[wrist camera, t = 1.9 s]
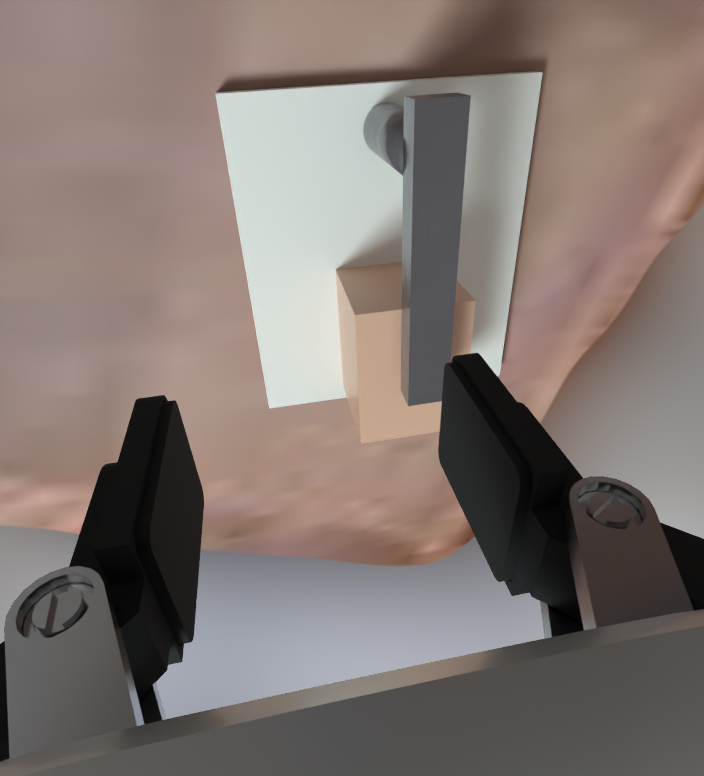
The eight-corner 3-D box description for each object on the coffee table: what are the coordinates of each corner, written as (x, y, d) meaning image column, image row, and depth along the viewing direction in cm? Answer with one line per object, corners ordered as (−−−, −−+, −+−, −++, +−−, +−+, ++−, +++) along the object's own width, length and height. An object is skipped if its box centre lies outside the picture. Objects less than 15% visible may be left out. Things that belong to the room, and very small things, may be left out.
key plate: (216, 92, 24) (215, 93, 23) (533, 71, 26) (542, 72, 25) (268, 399, 34) (269, 408, 33) (493, 368, 36) (499, 375, 35)
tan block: (335, 269, 29) (354, 315, 24) (436, 258, 30) (475, 300, 25) (343, 385, 34) (360, 443, 29) (430, 373, 34) (462, 427, 29)
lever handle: (361, 84, 24) (409, 100, 17) (411, 81, 24) (476, 95, 18) (369, 329, 31) (404, 406, 25) (406, 324, 32) (451, 399, 25)
